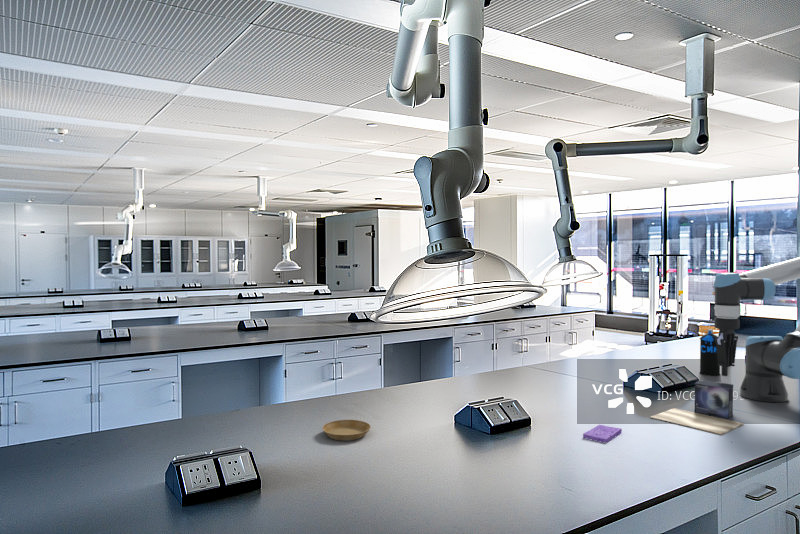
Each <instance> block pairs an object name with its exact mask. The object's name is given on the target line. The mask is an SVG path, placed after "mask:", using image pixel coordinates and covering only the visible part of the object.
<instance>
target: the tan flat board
mask: <svg viewBox="0 0 800 534" xmlns="http://www.w3.org/2000/svg"><path fill="white" fill-rule="evenodd" d="M649 418H650V419H653V420H657V421H661V420H662V421H661V422H665V421H667V422H666V423H669V422H671V424H673V423H676V424H675V425H677V424H680V425H679V426H682V425H684V426H683V427H686V426H689V427H688V428H690V427H693V428H692V429H694V428H696V429H695V430H698V429H699V431H701V432H702V431H703V432H707V433H711V434H715V435H719V436H722V435H724V434H726V433H729V432H731V431H733V430H736V429H737V428H739V427H741V426H743V425H744V423H743V422H739V421H734V420H729V419H725V418H720V417H714V416H709V415H704V414H699V413H694V412H693V411H689V410H684V409H679V408H677V407H674V408H670V409H667V410H665V411H663V412H660V413H657V414H654V415H650V417H649Z"/></svg>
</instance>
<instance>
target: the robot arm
mask: <svg viewBox="0 0 800 534" xmlns="http://www.w3.org/2000/svg"><path fill="white" fill-rule="evenodd" d="M799 279H800V255H799V256H798V257H795V258H792V259H789V260H785V261H781V262H778V263H773V264H770V265H767V266H763V267H759V268H756V269H752V270H748V271H745V272H741V273H738V272H718V273H716V275H715V277H714V283H713V290H714V307H713V310H714V316H716V317H714V322H713V323H714V328H715V329H718V330H719V331H718V335H717V336H718V339H717V338H716V339H715V343H716V348H717V358H718V366H720V383H725V384H732V367H735V366H736V365H735V361H736V353H737V347H738V346H737V345H738V340H739V336H738V335H736V332H735V331H736V330H739V329H740V327H741V326H740V316H741V306H740V305H741V301H746V300H747V301H766V300H771V299H773V297H774V296H775V294H776V292H777V291H776V286H778V285H780V284H784V283H787V282H788V283H789V282H792V281H795V280H796V281H797V280H799ZM745 340H746V341H745V346H744V347H745V375H744V378H743V380H742V382H741V384H740V385H741V386H740V387H739V395H740V396H741V397H743V398H746V399H750V400H754V401H758V402H759V401H760V402H765V403H767V402H769V403H783V402H787V401H789V393H788V389H787V387H786V385H785V381H784V378H783V376H784V377H787V378H788V379H793V380H799V381H800V323H799V324H798V325H797V327H796V328H795V330H794V331H793V332H789V333H786V335H785V336H784V337H783V336H781V335H780V336H779V335H753V336H752V335H749V336H747V337H746V339H745Z"/></svg>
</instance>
